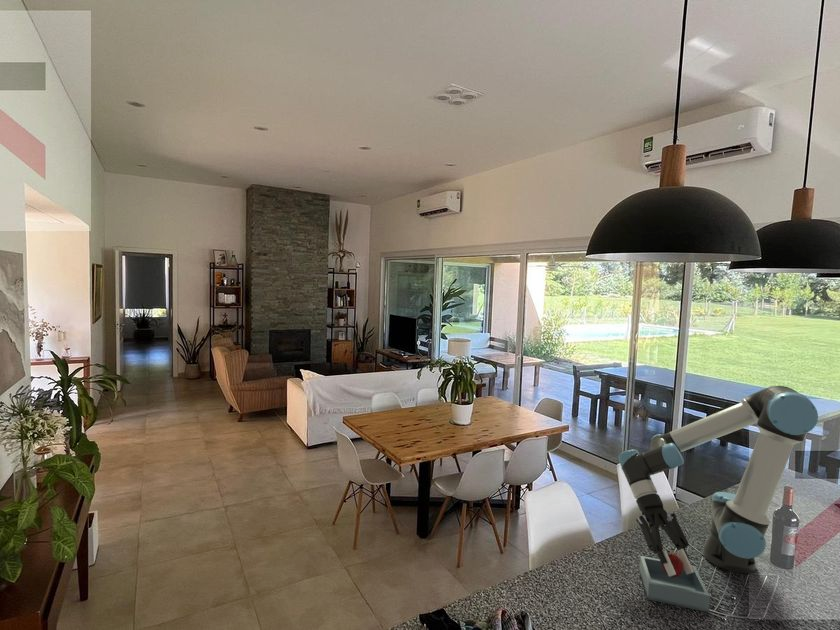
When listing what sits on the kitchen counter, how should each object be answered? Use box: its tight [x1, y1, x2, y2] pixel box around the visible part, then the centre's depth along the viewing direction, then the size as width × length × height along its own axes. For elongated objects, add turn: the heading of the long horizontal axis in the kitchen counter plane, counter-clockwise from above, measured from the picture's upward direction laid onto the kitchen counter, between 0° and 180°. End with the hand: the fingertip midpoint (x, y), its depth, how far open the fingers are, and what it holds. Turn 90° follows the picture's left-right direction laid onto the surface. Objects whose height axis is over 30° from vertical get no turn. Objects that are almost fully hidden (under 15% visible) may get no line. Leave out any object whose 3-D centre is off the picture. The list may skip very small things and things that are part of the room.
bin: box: [638, 555, 711, 613], centre depth 140 cm, size 16×15×5 cm
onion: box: [662, 551, 683, 578], centre depth 139 cm, size 6×6×8 cm
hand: (681, 574), depth 136 cm, fingers closed on onion, 6 cm apart
